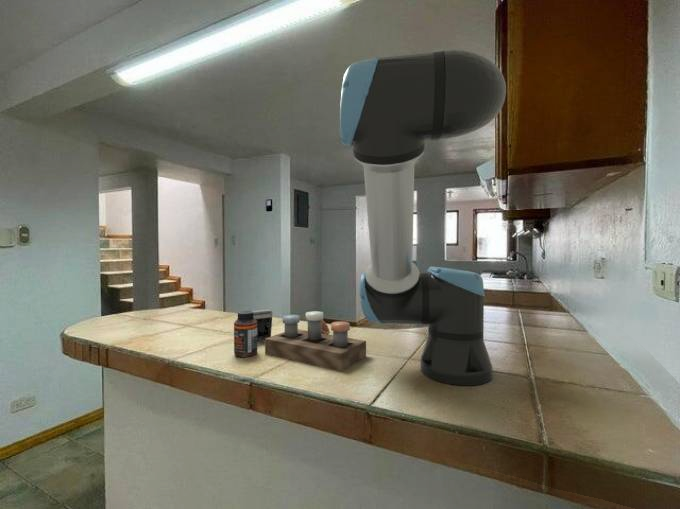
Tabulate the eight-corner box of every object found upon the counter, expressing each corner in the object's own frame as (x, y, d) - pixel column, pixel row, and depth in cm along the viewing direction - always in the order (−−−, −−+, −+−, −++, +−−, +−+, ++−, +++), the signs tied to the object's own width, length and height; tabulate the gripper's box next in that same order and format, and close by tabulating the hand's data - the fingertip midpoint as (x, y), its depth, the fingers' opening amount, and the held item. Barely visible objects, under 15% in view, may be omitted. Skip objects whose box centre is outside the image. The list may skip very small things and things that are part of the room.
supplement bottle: (229, 355, 85) (228, 312, 85) (245, 349, 91) (245, 308, 90) (246, 359, 83) (245, 314, 82) (262, 352, 88) (261, 310, 88)
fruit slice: (325, 341, 97) (325, 325, 97) (304, 340, 99) (303, 324, 99) (332, 334, 106) (331, 319, 106) (312, 333, 107) (311, 318, 107)
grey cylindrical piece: (303, 339, 91) (302, 315, 90) (292, 343, 87) (292, 319, 87) (290, 336, 93) (290, 314, 93) (279, 340, 89) (279, 317, 89)
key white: (326, 336, 86) (326, 312, 86) (316, 341, 82) (316, 315, 82) (312, 334, 89) (312, 310, 89) (302, 338, 85) (301, 313, 85)
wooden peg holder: (366, 356, 84) (366, 340, 84) (341, 371, 74) (341, 353, 74) (294, 342, 97) (294, 328, 97) (265, 353, 87) (264, 338, 87)
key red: (353, 348, 82) (353, 322, 82) (343, 353, 78) (343, 326, 78) (337, 345, 84) (337, 320, 84) (327, 350, 81) (327, 324, 80)
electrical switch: (270, 336, 104) (270, 307, 103) (274, 342, 100) (275, 312, 98) (239, 340, 100) (239, 310, 99) (243, 346, 95) (243, 315, 94)
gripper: (392, 167, 103) (393, 242, 103) (374, 158, 92) (375, 242, 92) (416, 164, 99) (416, 242, 99) (400, 154, 88) (400, 242, 88)
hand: (396, 242), depth 96 cm, fingers closed
